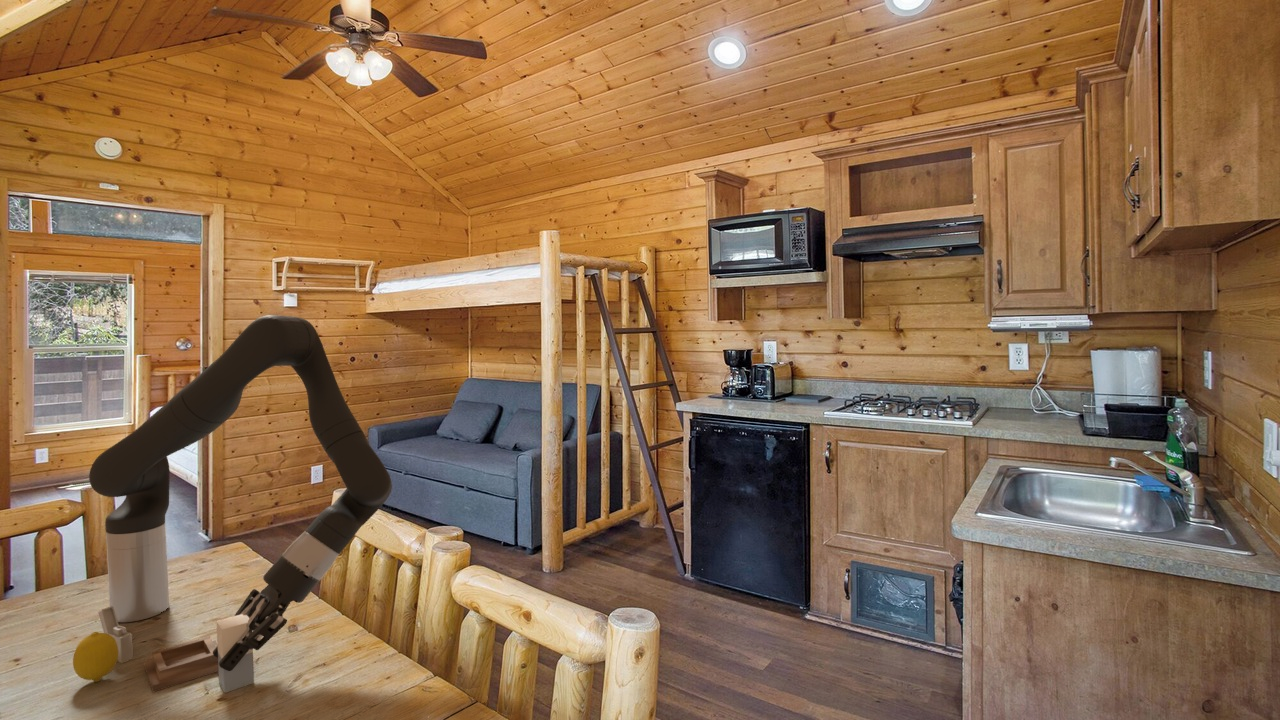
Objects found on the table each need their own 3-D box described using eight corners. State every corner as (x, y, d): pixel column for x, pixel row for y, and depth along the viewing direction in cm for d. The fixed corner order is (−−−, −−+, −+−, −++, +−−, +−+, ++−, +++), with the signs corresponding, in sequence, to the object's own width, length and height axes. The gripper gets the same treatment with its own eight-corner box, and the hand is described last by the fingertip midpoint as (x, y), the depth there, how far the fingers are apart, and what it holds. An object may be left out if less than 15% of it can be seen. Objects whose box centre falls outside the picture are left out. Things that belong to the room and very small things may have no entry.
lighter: (133, 658, 110) (131, 612, 109) (121, 663, 108) (119, 616, 108) (112, 648, 113) (109, 604, 112) (100, 653, 111) (97, 608, 111)
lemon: (93, 692, 99) (90, 642, 99) (65, 688, 100) (62, 639, 100) (128, 673, 105) (126, 625, 104) (101, 670, 106) (98, 622, 105)
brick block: (219, 682, 102) (216, 621, 101) (247, 672, 105) (245, 613, 104) (224, 692, 99) (221, 629, 99) (254, 682, 102) (251, 621, 101)
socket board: (144, 667, 107) (143, 652, 107) (215, 646, 114) (215, 632, 113) (152, 691, 99) (152, 676, 99) (228, 667, 106) (227, 653, 106)
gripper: (272, 544, 111) (191, 636, 103) (297, 566, 101) (208, 670, 93) (306, 566, 115) (230, 656, 107) (334, 589, 105) (252, 691, 97)
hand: (221, 662), depth 100 cm, fingers closed on brick block, 4 cm apart
